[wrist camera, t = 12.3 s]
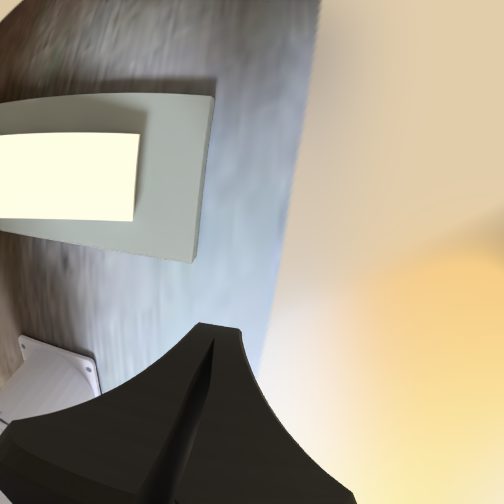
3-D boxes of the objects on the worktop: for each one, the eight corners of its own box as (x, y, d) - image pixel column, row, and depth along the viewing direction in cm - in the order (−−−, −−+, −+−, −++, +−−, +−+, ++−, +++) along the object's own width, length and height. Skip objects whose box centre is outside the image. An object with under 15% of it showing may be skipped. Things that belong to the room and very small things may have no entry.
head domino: (132, 221, 16) (-4, 218, 13) (134, 214, 17) (7, 211, 14) (139, 134, 14) (-3, 135, 12) (140, 134, 16) (8, 134, 13)
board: (196, 256, 19) (192, 263, 18) (-42, 216, 19) (-51, 220, 18) (215, 99, 16) (211, 96, 15) (-41, 113, 16) (-50, 114, 15)
